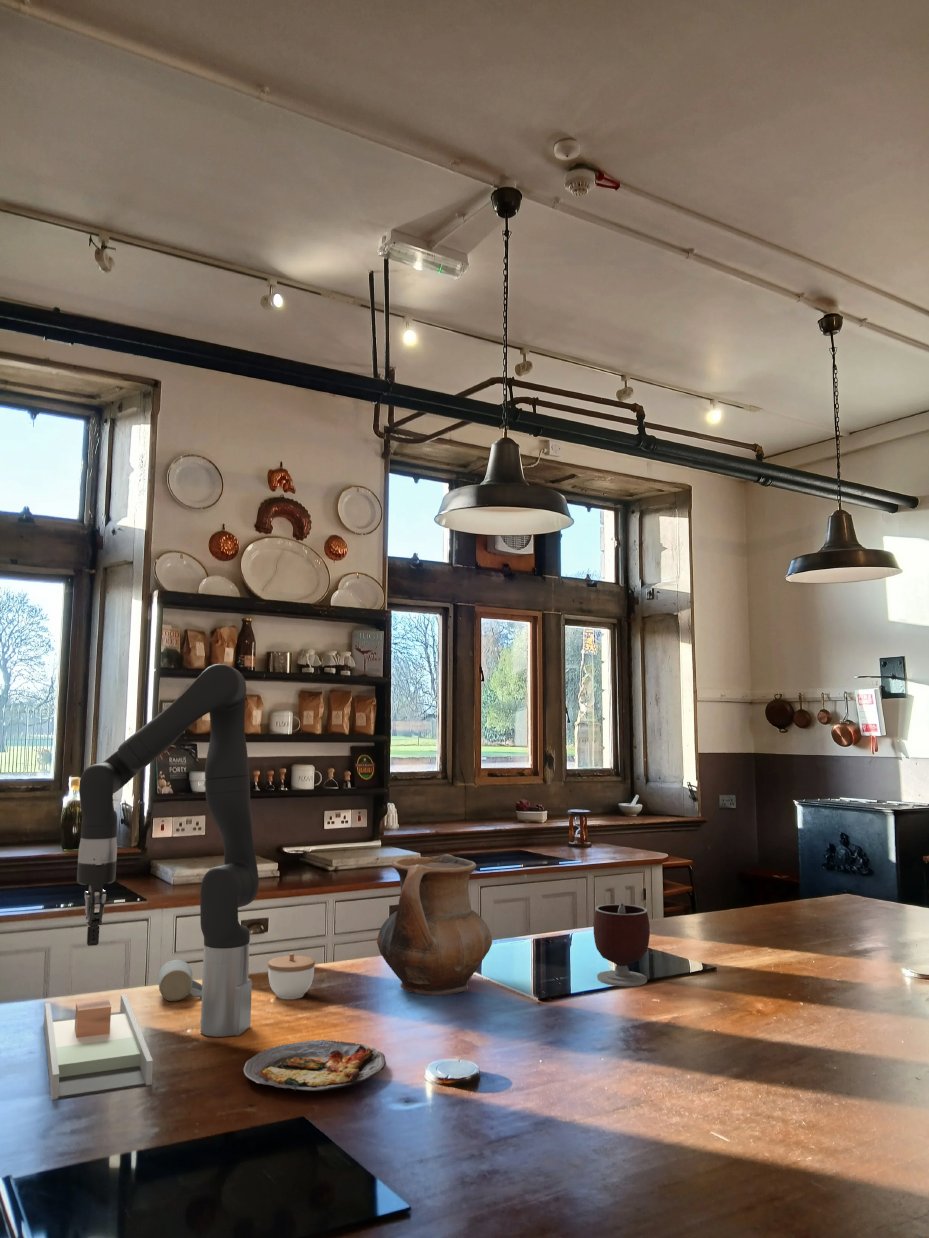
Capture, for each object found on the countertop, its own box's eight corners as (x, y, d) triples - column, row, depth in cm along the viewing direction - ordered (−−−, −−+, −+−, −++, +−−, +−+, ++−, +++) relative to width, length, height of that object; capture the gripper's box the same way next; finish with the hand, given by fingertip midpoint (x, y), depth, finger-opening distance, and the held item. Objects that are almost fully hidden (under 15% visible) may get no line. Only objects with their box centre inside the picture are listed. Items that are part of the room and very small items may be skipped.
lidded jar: (291, 986, 222) (292, 946, 223) (323, 994, 216) (324, 952, 217) (257, 996, 214) (258, 954, 215) (289, 1005, 207) (291, 962, 208)
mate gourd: (593, 970, 239) (593, 891, 241) (648, 973, 237) (647, 893, 239) (593, 987, 223) (593, 902, 226) (652, 990, 222) (651, 904, 224)
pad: (53, 1061, 172) (54, 1047, 172) (133, 1050, 178) (133, 1036, 178) (55, 1080, 163) (56, 1065, 163) (139, 1067, 169) (140, 1053, 169)
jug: (493, 1005, 208) (493, 869, 212) (368, 1004, 209) (371, 868, 212) (490, 968, 241) (491, 850, 244) (383, 966, 241) (385, 849, 244)
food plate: (405, 1059, 174) (404, 1039, 175) (350, 1108, 152) (350, 1086, 153) (287, 1047, 182) (287, 1028, 183) (219, 1092, 160) (219, 1071, 161)
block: (74, 1028, 183) (76, 1002, 183) (107, 1024, 185) (108, 998, 186) (76, 1037, 177) (77, 1010, 178) (109, 1033, 180) (111, 1006, 181)
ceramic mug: (158, 1004, 207) (160, 968, 208) (156, 994, 215) (159, 959, 216) (207, 1000, 211) (209, 965, 212) (204, 990, 219) (206, 957, 219)
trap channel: (43, 1022, 194) (45, 1002, 194) (124, 1013, 201) (125, 993, 201) (51, 1099, 154) (52, 1074, 155) (151, 1084, 161) (152, 1060, 162)
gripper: (76, 855, 198) (71, 939, 197) (79, 864, 187) (74, 953, 185) (113, 854, 202) (109, 936, 200) (119, 863, 190) (114, 950, 188)
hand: (92, 944), depth 192 cm, fingers closed
